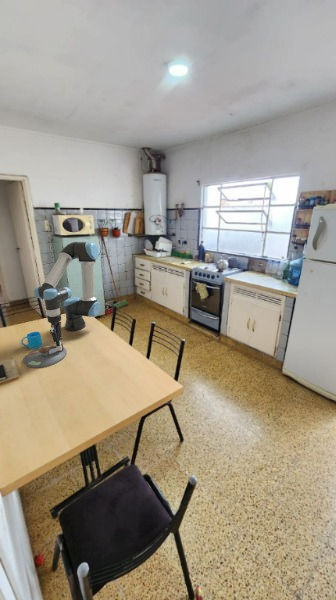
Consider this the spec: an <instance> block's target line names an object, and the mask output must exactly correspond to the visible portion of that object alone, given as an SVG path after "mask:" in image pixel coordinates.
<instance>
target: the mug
mask: <svg viewBox="0 0 336 600" xmlns="http://www.w3.org/2000/svg"><path fill="white" fill-rule="evenodd" d="M41 335H42V334H41V332H40V331H31V332H29V333H27V334H26V336H24V337H23V338H22V339H21V340H20V343H21V345H23V346H24V347H28V348H29V349H37V348H40V347H42V345H43V340H42V339H43V338H42V336H41ZM25 339H26V340H27V344H26V343H24V340H25Z"/></svg>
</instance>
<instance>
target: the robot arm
mask: <svg viewBox="0 0 336 600" xmlns="http://www.w3.org/2000/svg"><path fill="white" fill-rule="evenodd" d="M99 253H100V252H99V248H98V246H97V245H96V243H94V242H89V241H86V242H85V241H82V242H81V241H72V242H70V243H68V244H66V245H65V246H64V247H63V248H62V249H61V251H60V253H59V254H58V258H57V260H56V262H55V263H54V265H53V267H52V268H51V270H50V272H49V273H48V275H47V276H46V278H45V280H44V281H43V283H42V284H41V285H40V286H36V287H35V288H34V290H33V295H34V297H35V298H37V299H41V300H44V306H45V310H44V311H45V312H46V318H47V323H49V324H50V328H51V329H49V332H50V334H51V337H52V341H53V343H55V345H56V348H57V351H61V350H62V346H61V343H62V342H61V341H62V340H63V338H62V314H61V306H60V303H61V302H63V306H64V308H63V309H64V315H65V324H64V329H65V330H66V331H67V332H69V331H70V332H75V331H80V330H83V329H84V328H85V327H86V321H85V319H84V317H88V318H95V317H97V316H98V315H99V313H100V311H101V303H100V302H99V301H98V298H97V297H96V296H95V295H96V291H95V271H94V269H95V266H94V264H95V263H96V262H97V261H96V260H98V258H99V256H100V255H99ZM75 259H77V260H78V262H79V263H80V270H81V274H80V275H81V288H82V289H81V293H82V294H81V295H82V297H81V298H80V297H78V296H74V297H72V294H73V293H72V290H71V288H69V287H68V286H64V287H61V288H60V287H57V285H58V283H59V282H60V280H61V279H62V277H63V275H64V274H65V271H66V270H67V268H68V267H69V264H70V263H72V262H73V260H75Z"/></svg>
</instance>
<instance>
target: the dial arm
mask: <svg viewBox="0 0 336 600" xmlns="http://www.w3.org/2000/svg"><path fill="white" fill-rule="evenodd" d="M52 345H53V346H48V345H44V346H42V345H41V346H40V347H38V348H39V351H36V352H32V353H29V352H28V353H25V354H23V355H24V357H25V356H27V355H30V354H34V353H38V352H40V353H46V352H48V351H50V349H54V348H56V344H52ZM61 346H62V350H64V349H63V347H64V344H63V342H61ZM62 350H61V351H62Z"/></svg>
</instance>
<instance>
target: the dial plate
mask: <svg viewBox="0 0 336 600" xmlns="http://www.w3.org/2000/svg"><path fill="white" fill-rule="evenodd" d="M53 345H54V344H51V345H49V344H47V346H53ZM39 348H40V347H38V348H33V350H31V351H29V352H28V353H32V352H36V351H39ZM63 349H64V350H62V351H57V348H54V349H50V351H48V352H46V353H40V352H38V353H34V354H30V355H27V356H24V357H23V360H22V361H23V364H24V365H25V366H26V367H28V368H33V369H39V368H40V369H41V368H47V367H50V366H54V365H56V364H57V363H60V362H61V361H63V360H64V359H65V358H66V356H67V352H68V351H67V348H66V347H64V346H63Z"/></svg>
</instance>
